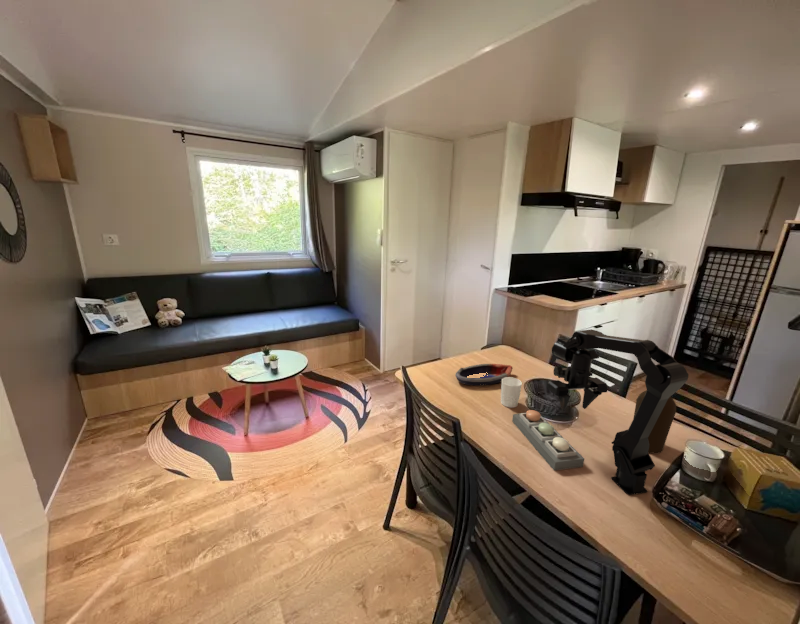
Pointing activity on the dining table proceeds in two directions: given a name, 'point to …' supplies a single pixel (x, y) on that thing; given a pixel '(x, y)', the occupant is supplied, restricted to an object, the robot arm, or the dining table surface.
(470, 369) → the dish
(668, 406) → the olive oil
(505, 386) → the white cup
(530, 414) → the terracotta button
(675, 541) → the dining table surface
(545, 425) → the sage button
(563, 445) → the cream button
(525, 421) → the button panel
